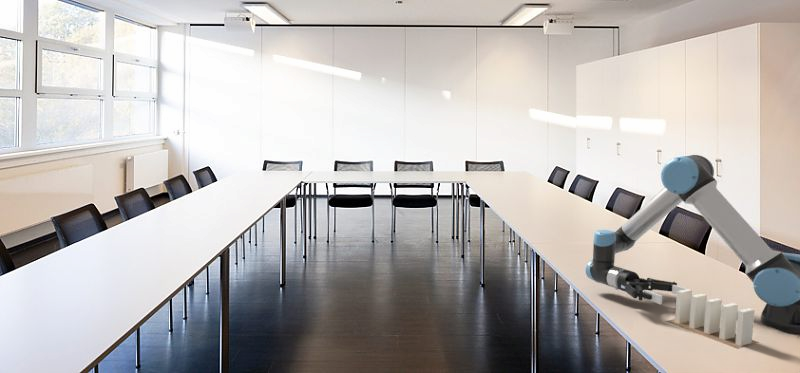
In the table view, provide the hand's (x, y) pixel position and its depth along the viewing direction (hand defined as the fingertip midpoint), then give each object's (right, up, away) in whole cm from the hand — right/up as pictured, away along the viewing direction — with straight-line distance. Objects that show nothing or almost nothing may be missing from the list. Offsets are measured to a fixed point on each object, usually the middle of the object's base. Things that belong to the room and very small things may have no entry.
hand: (676, 297), depth 188 cm
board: (+6, -9, -10) cm, 14 cm away
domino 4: (+8, -9, -15) cm, 19 cm away
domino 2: (+4, -8, -6) cm, 11 cm away
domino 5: (+11, -10, -19) cm, 24 cm away
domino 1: (+1, -7, -1) cm, 8 cm away
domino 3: (+6, -9, -10) cm, 15 cm away
